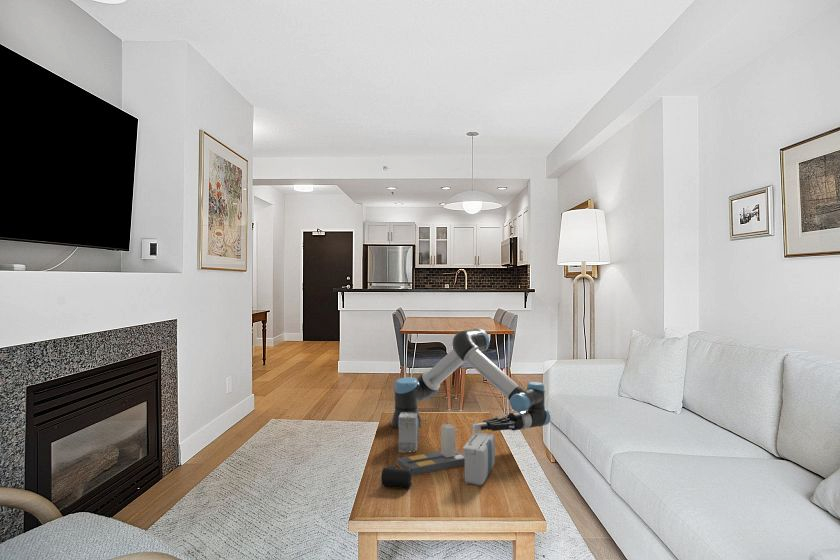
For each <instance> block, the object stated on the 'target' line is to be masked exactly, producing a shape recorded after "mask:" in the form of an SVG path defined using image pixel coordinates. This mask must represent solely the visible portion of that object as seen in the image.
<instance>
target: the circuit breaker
mask: <svg viewBox="0 0 840 560" xmlns="http://www.w3.org/2000/svg"><path fill="white" fill-rule="evenodd" d="M418 413H419V412H418ZM418 413H409V412H401V413H400V415H399V417H398V418H399V421H398V427H399V429H398V446H397V447H398V453H405V452H409V451H411V452H412V451H413V452H415V451H416V452H417V450H418V446H419V443H418V441H419V440H418V439H419V434H420V431H419V430H420V427H419V418H418ZM401 450H402V451H401Z"/></svg>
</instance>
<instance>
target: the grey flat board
mask: <svg viewBox="0 0 840 560" xmlns="http://www.w3.org/2000/svg"><path fill="white" fill-rule="evenodd" d="M396 463H397V464H398V465H399V466H400V467H401V468H403V467H405V466H406V467H411V468H412V473H411V476H415V475H420V474H425V473H430V472H436V471H439V470H440V471H441V470H445V469H447V470H448V469H451V468H452V469H453V468H456V467H463V466H465V454H463V453H461V452H460V451H458V450H457V449H456V456H454V457H449V458H446V457H445V456H443V455H442V454H441V450H440V451H439V450H438V451H433V452H426V453H421V454H415V455H410V456H404V457H399V458H396ZM397 464H396V465H397ZM398 465H397V466H398ZM399 466H398V467H399ZM400 467H399V468H400ZM401 468H400V469H401Z"/></svg>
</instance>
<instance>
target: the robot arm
mask: <svg viewBox="0 0 840 560" xmlns="http://www.w3.org/2000/svg"><path fill="white" fill-rule="evenodd" d="M451 343H452V349H451V350H450V351H449V352H448V353H447V354H446V355H445V356H444V357H443V358H442V359H440V360H439V361H438V362H437V363H436V364H435V365H434V366H433V367H432V368H430V370H425V371H423V372H422V373H421V374H420V375H419V376H418V377H413V376H406V377H400V378H398V379H397V380H395V382H394V410H393V414H392V418H391V420H390V422H391V423H390V424H391V425H390V426H391V427H393V429H398V430H399V427H398V421H399V418H398V417H399V415H400V413H401V412H409V413H418V418H419V428H420V427H421V425H422V421H421V420H422V419H421V417H420V413H419V409H418V402H420V401H424V400H428V399H431V398H432V397H434V396H436V394H437V393H438V392H439V389H440V387H441V383H443V381H445V380H446V379H447V378H448V377H449V376H450V375H452V374H453V373H454V372H455V371H456V370H457V369H459V367H461V366H462V365H463V364H464V363H466V364H467V363H468V364H469V366H471V367H472V368H474V369H475V370H476V371H477V372H478V373H479V374H480V375H481V376H482V377H483V378H484V379H486V381H488V382H489V383H490V384H491V385H492V386H493V387H494V388H495V389H497V391H499V392H500V393H501V395H503V396H504V397H505V398H507V400H508V401H509V404H510V407H511V409H512V410H513V411H514V412H509V413H508V415H507V416H503V417H501V418H500V417H499V416H495V417H492V418H488V419H485V420H483V422H480V423H476V426H475V423H474V424H471V428H472V429H471V431H472V432H473V429H474V426H475V430H474V433H476V432H482V431H487V430H488V431H492V432H494V431H498V432H499V431H508V430H509V431H510V430H511V431H519V430H526V429H531V428H535V427H543V426H546V425H549V423H550V422H551V418H552V417H551V414H550V411H549V410H548V408H546V407H545V400H546V399H545V397H546V395H545V393H546V392H545V385H544V383H543V382H540V381H529V382H528V383H527V385H526V390H524V389H523V388H522V387H521V386H520V385H518V384H517V383H516V382H515V381H514V380H513V379H512V378H511V377H510V376H509V375H507V374H506V373H505V371H503V370H502V369H501V368H499V367H498V366H497V365H496V364H495V363H494V362H493V361H492V360H491V359H489V357H487V356H486V355H485V354H484V353H483V352H486V351H487V350H488V349H489V347H490V337H489V335H488V333H487V332H486V331H485V330H484V329H481V328H473V329H467V330H461V331H458V332H457V333H456V334H455V335H454V336H453V339H452V342H451Z"/></svg>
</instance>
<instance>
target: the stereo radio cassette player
mask: <svg viewBox="0 0 840 560" xmlns="http://www.w3.org/2000/svg"><path fill="white" fill-rule="evenodd" d="M476 417H477V418H476V420H475V423H474V424H475V426H476V424H477V422H478V419H479V415H477V416H476ZM475 426H474V429H473V431H472V432H471V435H470V436H471V437H470V438H469V440H468V441H467V442H465V445H463V447H462V449H461V450H462V454H463V453H464V455H465V465H464V483H466V484H471V485H476V486H480V487H481V486H482V485H483V484H484V483H485V481H486V480H487V478H488V476H489V475H490V472H491V471H492V469H493V467H494V466H495V463H496V462H495V461H496V438H495V437H496V436H495V434H493V433H486V432H479V431H476V432H474V430H475Z"/></svg>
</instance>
